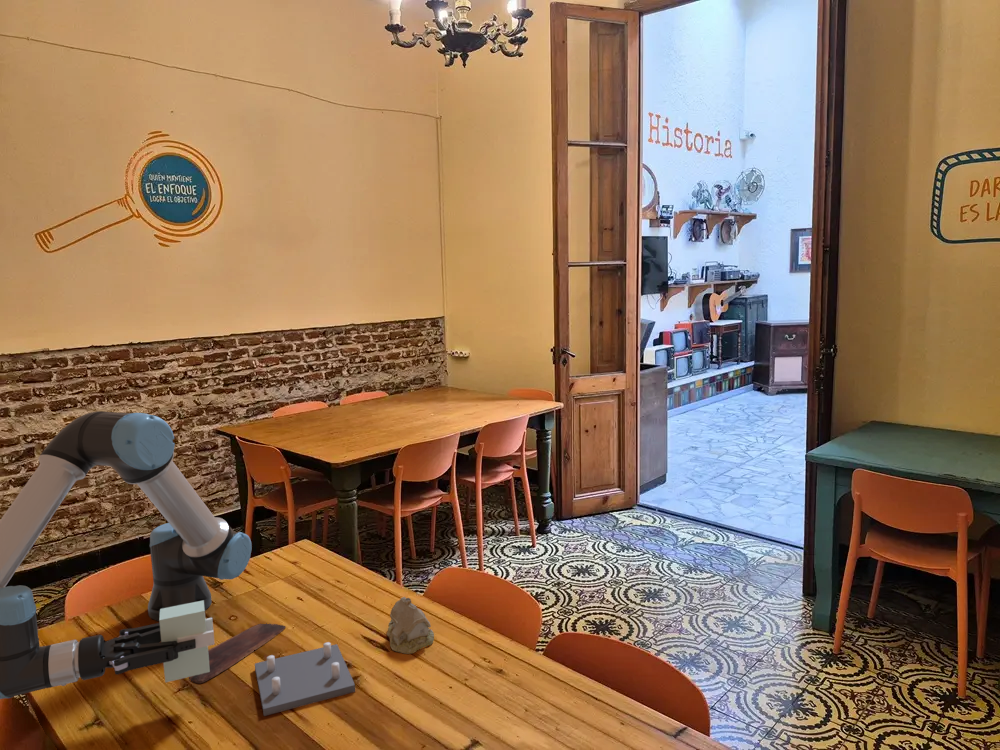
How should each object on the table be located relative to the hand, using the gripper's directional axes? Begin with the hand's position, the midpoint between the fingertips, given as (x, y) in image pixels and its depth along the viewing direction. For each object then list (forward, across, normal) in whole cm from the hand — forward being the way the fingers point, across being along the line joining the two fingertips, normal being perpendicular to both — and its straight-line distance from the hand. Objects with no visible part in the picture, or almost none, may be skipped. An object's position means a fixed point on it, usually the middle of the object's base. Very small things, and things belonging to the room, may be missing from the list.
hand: (213, 630), depth 136 cm
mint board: (-5, 0, -7) cm, 9 cm away
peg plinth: (+17, +2, -15) cm, 22 cm away
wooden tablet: (+4, -18, -16) cm, 24 cm away
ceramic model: (+42, -5, -15) cm, 45 cm away
